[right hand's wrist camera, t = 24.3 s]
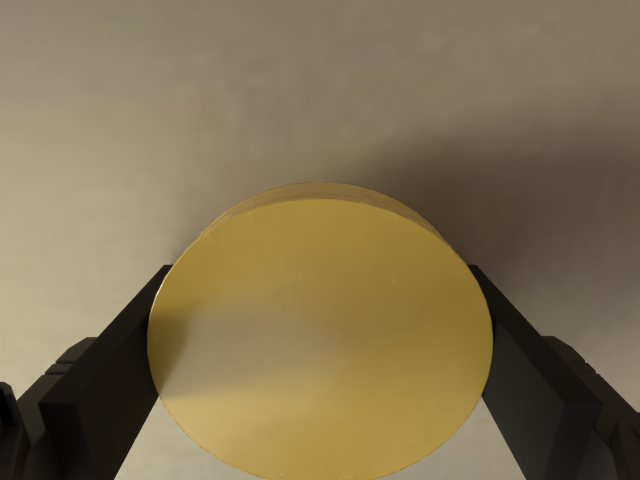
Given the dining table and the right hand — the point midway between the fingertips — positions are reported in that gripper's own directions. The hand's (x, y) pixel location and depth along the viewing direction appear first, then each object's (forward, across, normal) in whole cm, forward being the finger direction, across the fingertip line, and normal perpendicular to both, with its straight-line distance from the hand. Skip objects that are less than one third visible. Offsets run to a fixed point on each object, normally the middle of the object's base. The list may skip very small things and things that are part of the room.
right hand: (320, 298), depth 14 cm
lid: (-3, 0, 0) cm, 3 cm away
